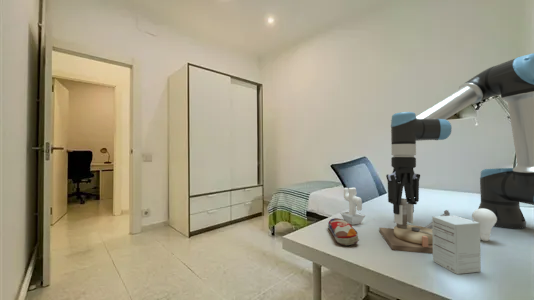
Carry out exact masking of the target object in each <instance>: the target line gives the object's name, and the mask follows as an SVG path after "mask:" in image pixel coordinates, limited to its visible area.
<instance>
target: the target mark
mask: <svg viewBox="0 0 534 300" xmlns="http://www.w3.org/2000/svg"><path fill="white" fill-rule="evenodd" d="M422 246H423V247H428V237H427V236H422Z"/></svg>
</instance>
